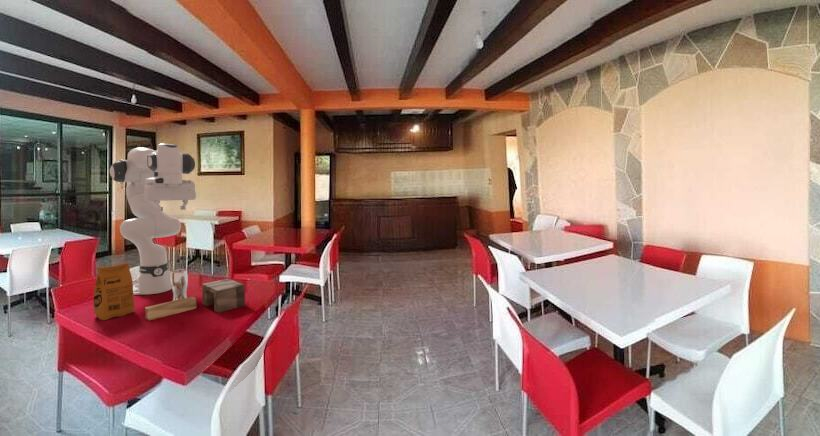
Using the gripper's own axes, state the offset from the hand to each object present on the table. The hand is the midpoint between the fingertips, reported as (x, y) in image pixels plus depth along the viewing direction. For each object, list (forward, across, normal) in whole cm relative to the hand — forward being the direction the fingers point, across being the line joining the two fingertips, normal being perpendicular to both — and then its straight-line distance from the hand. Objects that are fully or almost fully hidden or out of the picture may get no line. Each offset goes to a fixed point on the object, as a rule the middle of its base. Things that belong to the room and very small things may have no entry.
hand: (172, 210), depth 155 cm
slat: (+45, +6, +8) cm, 46 cm away
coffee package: (+45, +20, -10) cm, 50 cm away
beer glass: (+45, -4, -5) cm, 45 cm away
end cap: (+45, -12, +18) cm, 50 cm away
